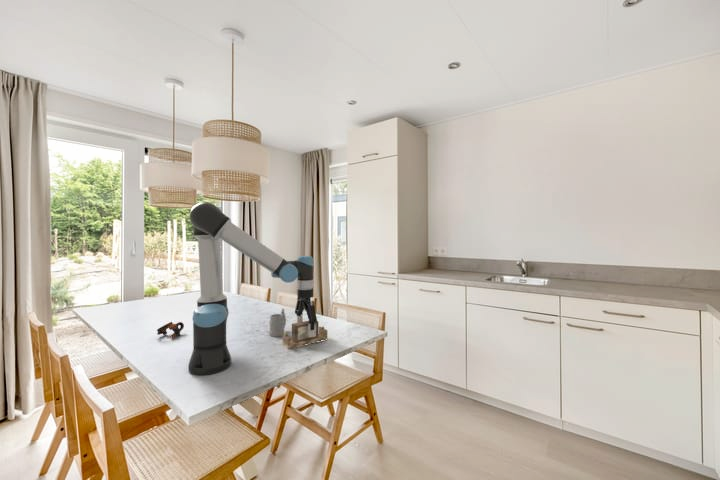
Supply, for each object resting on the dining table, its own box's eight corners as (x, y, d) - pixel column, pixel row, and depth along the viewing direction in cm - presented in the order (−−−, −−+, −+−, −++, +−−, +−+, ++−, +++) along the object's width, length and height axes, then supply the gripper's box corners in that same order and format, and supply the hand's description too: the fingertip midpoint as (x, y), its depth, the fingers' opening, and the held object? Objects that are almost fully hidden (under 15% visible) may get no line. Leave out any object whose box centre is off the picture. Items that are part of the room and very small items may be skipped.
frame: (295, 343, 143) (295, 325, 143) (291, 340, 146) (291, 323, 146) (318, 338, 150) (318, 321, 150) (314, 335, 153) (314, 319, 153)
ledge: (288, 349, 140) (288, 336, 139) (282, 344, 145) (282, 332, 145) (327, 340, 151) (327, 328, 151) (320, 336, 157) (320, 325, 156)
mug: (265, 336, 157) (265, 312, 157) (279, 329, 168) (278, 307, 168) (278, 337, 154) (278, 313, 154) (291, 330, 166) (291, 308, 165)
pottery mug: (167, 342, 149) (159, 327, 149) (160, 347, 154) (151, 332, 154) (190, 329, 159) (182, 315, 159) (182, 334, 164) (174, 320, 164)
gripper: (324, 291, 139) (324, 338, 140) (302, 284, 160) (302, 324, 160) (309, 293, 135) (309, 341, 136) (288, 285, 156) (288, 327, 156)
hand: (305, 332), depth 148 cm, fingers open, 13 cm apart
